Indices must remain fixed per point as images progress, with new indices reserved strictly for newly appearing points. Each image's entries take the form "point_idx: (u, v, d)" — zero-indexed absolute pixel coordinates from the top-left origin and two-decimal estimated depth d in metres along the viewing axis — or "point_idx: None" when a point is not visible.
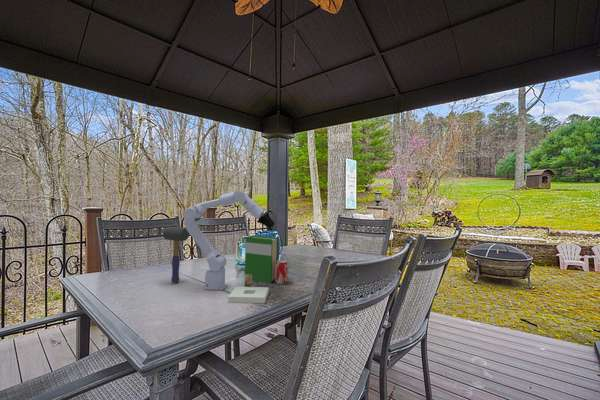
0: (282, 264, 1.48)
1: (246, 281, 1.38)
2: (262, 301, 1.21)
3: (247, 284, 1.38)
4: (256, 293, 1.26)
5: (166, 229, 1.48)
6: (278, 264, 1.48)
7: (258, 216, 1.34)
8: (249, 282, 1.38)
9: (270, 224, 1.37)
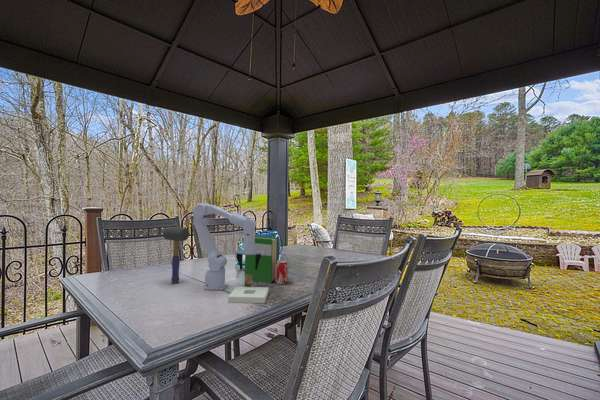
0: (282, 264, 1.48)
1: (246, 281, 1.38)
2: (262, 301, 1.21)
3: (247, 284, 1.38)
4: (256, 293, 1.26)
5: (166, 229, 1.48)
6: (278, 264, 1.48)
7: None
8: (249, 282, 1.38)
9: None
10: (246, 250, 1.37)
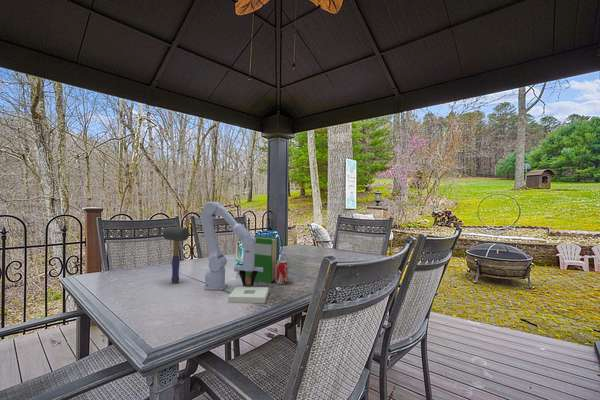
0: (282, 264, 1.48)
1: (246, 281, 1.38)
2: (262, 301, 1.21)
3: (247, 284, 1.38)
4: (256, 293, 1.26)
5: (166, 229, 1.48)
6: (278, 264, 1.48)
7: None
8: (249, 282, 1.38)
9: None
10: (246, 267, 1.37)
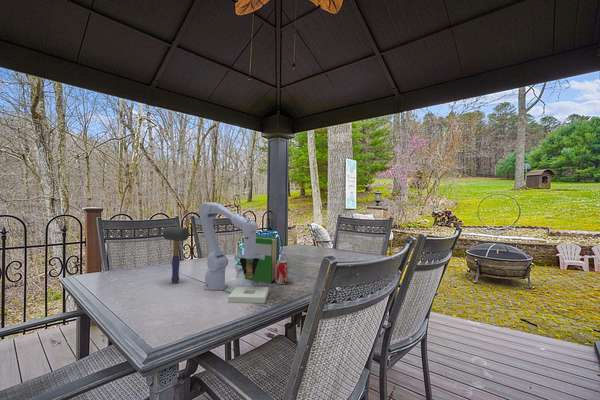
0: (282, 264, 1.48)
1: (247, 269, 1.33)
2: (262, 301, 1.21)
3: (248, 272, 1.33)
4: (256, 293, 1.26)
5: (166, 229, 1.48)
6: (278, 264, 1.48)
7: None
8: (251, 270, 1.33)
9: (243, 271, 1.34)
10: (247, 254, 1.32)
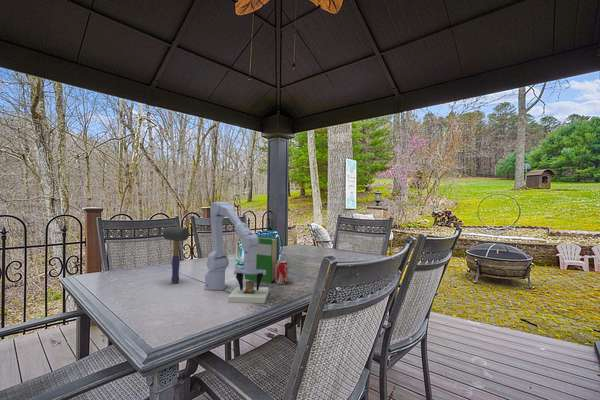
0: (282, 264, 1.48)
1: (247, 289, 1.26)
2: (262, 301, 1.21)
3: (248, 292, 1.26)
4: (256, 293, 1.26)
5: (166, 229, 1.48)
6: (278, 264, 1.48)
7: None
8: (251, 290, 1.27)
9: None
10: (247, 269, 1.25)
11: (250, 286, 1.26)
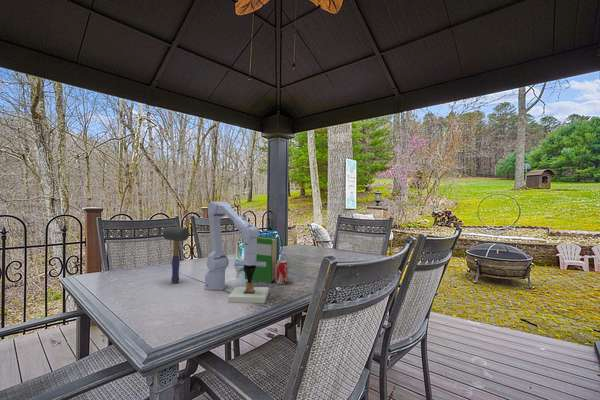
0: (282, 264, 1.48)
1: (247, 289, 1.26)
2: (262, 301, 1.21)
3: (248, 292, 1.26)
4: (256, 293, 1.26)
5: (166, 229, 1.48)
6: (278, 264, 1.48)
7: None
8: (251, 290, 1.26)
9: (247, 279, 1.27)
10: (247, 261, 1.25)
11: (250, 286, 1.26)
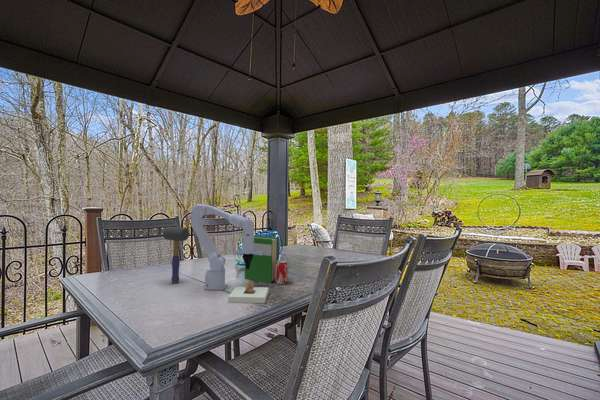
0: (282, 264, 1.48)
1: (247, 289, 1.26)
2: (262, 301, 1.21)
3: (248, 292, 1.26)
4: (256, 293, 1.26)
5: (166, 229, 1.48)
6: (278, 264, 1.48)
7: None
8: (251, 290, 1.26)
9: (246, 266, 1.42)
10: (245, 250, 1.40)
11: (250, 286, 1.26)
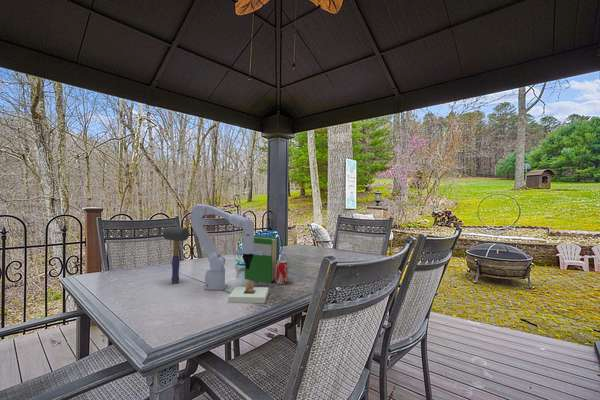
0: (282, 264, 1.48)
1: (247, 289, 1.27)
2: (262, 301, 1.21)
3: (248, 292, 1.26)
4: (256, 293, 1.26)
5: (166, 228, 1.48)
6: (278, 264, 1.48)
7: None
8: (251, 290, 1.27)
9: (246, 266, 1.42)
10: (245, 250, 1.40)
11: (250, 286, 1.26)
